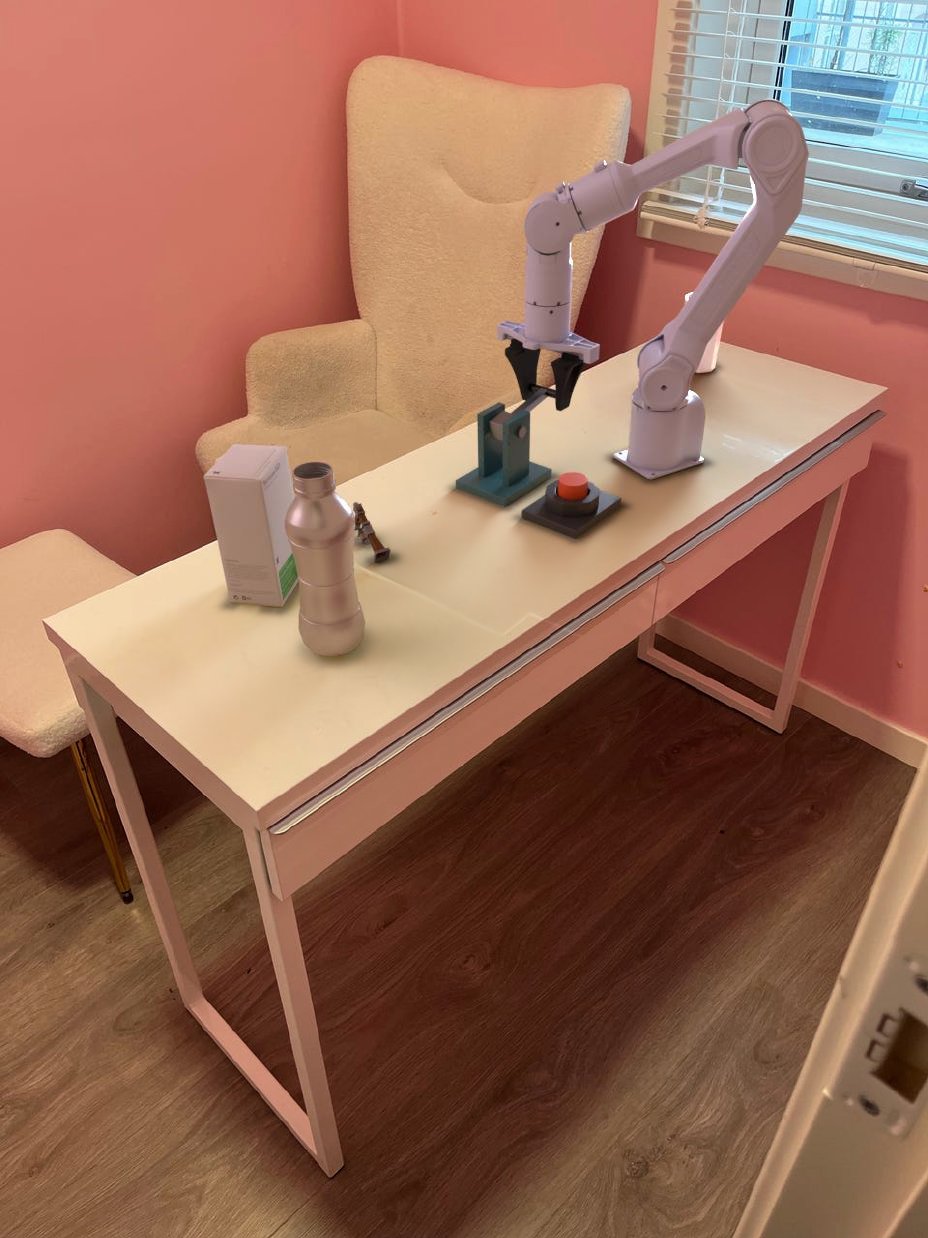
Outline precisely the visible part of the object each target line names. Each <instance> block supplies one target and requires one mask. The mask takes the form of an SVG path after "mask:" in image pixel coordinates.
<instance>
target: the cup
mask: <svg viewBox="0 0 928 1238" xmlns="http://www.w3.org/2000/svg"><path fill="white" fill-rule="evenodd" d="M692 293H693V292H690V293H688V294H686V295H685V297H684V305H685V304H686V302H687V301H688V299H689V298H690V296H691V295H692ZM725 320H726V319H725ZM725 320H724V321H723V323H722V324H721V325H720V327H719V328H718V330H717V331H716V333H715V334H714V335H713V337H712V338H711V340H710V341H709V342H708V344H707V346H706V348H705V351H704V354H703V357H702V359H701V362H700V365H699V367H698V369H697V370H696V372H695V373H696V374H701V373H702V374H703V373H711V372H712V371H713V370H714V369H716V366H717V360H718V355H719V354H718V353H719V349H720V343H721V337H722V333H723V329H724V323H725Z"/></svg>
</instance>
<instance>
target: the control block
mask: <svg viewBox="0 0 928 1238" xmlns="http://www.w3.org/2000/svg"><path fill="white" fill-rule="evenodd" d="M621 506H622V497H620V496H618V495H615V494H612V493H610V492H606V491H603V490H601V489H600V488H599V487H598V486H597V485H596V484H595V483H594V482H592V481H589V480H588V491H587V496H586V497H585V498H581V499H577V500H574V499H565V498H562V497H559V495H558V479H556V480H554V481H553V482H551V483H550V484H548V485H547V486H546V488H545V493H544V495H542V496H541V497H539V498H538V499H536V500H535V501H534V502H532V503H530V504H529V505H527V506H526V507H525V508H523V509H522V510H521V519H523V520H525V521H527V522H530V523H533V524H535V525H538V526H540V527H543V528H545V529H548V530H551V531H554V532H556V533H559V534H561V535H563V536H566V537H569V538H571V539H575V540H577V538H579V537H580V536H582V535H583V534H584V533H586V532H587V531H589V530H590V529H591V528H593V527H594V526H596V524H598V523H600V522H601V521H602V520H604V519H606V518H607V517H608V516H609V515H610V514H612V513H613V512H614V511H616V510H617V509H618V508H620V507H621Z"/></svg>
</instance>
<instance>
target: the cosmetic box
mask: <svg viewBox="0 0 928 1238" xmlns="http://www.w3.org/2000/svg"><path fill="white" fill-rule="evenodd" d="M287 449H288V447H287V446H285V445H283V446H282V445H262V444H261V445H260V444H259V445H258V444H241V443H240V444H239V443H234V444H232V445H231V446H230V447H229V448H228V449H227V450H226V451H225V452H224V454H222V455H220V456H219V457H217V458H216V459H215V461H214V464H213V465H212V466H211V467H210V468H209V469H208V470H207V471H206V472H205V474H203V481H204V484H205V488H206V493H207V497H208V502H209V507H210V512H211V517H212V521H213V526H214V530H215V535H216V540H217V546H218V549H219V554H220V559H221V565H222V569H223V573H224V578H225V584H226V588H227V593H228V598H229V603H232V604H238V605H248V606H258V607H272V608H282V607H284V605H285V604H286V602H287V600H288V599H289V597H290V596H291V594H292V593H293V591H294V590H295V587H296V586H297V585H298V584H299V580H298V574H297V570H296V565H295V560H294V557H293V553H292V550H291V547H290V544H289V541H288V538H287V535H286V530H285V524H284V523H285V518H286V513H287V511H288V509H289V507H290V505H291V503H292V502H293V500H294V499H295V493H294V490H293V479H292V473H291V467H290V462H289V456H288V450H287Z"/></svg>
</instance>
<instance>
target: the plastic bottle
mask: <svg viewBox="0 0 928 1238" xmlns="http://www.w3.org/2000/svg"><path fill="white" fill-rule="evenodd" d="M291 478H292V486H293V493H294V495H295V496H294V500H293V502H292V503H291V505H290V507H289V509H288V511H287V513H286V518H285V523H284V524H285V530H286V535H287V538H288V541H289V544H290V547H291V550H292V553H293V557H294V560H295V565H296V570H297V574H298V580H299V581H298V590H299V591H298V592H299V610H298V633H299V635H300V638H301V640H302V643H303V644H304V646H305V647H306V648H307V649H309V650H310V651H311V652H312V653H313V654H316V655H319V656H322V657H323V656H324V657H337V656H341V655H342V656H343V655H345V654H348V653H350V652H352V651H354V650H355V649H356V648H357V647H358V646H359V644H360V643H361V641H362V640H363V638H364V635H365V627H366V618H365V616H364V611H363V607H362V604H361V602H360V600H359V595H358V589H357V585H356V579H355V568H354V564H355V563H354V547H355V533H356V531H355V513H354V511H353V508H352V507H351V506H350V504H349V503H348V502H347V501H346V500H345V499H344V498H343V496H341V495H340V494H339V493H338V492H337V491H336V489H337V488H338V487H337V480H336V479H335V474H334V468H333V466H332V465H331V464H329V463H327V462H324V461H308V462H304V463H301V464H298V465H296V466H294V467H293V469H292V470H291Z"/></svg>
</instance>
